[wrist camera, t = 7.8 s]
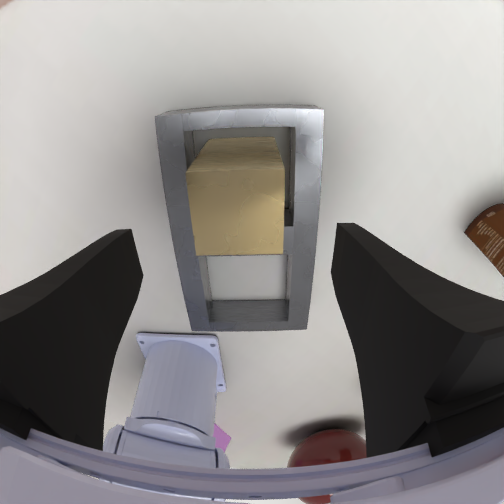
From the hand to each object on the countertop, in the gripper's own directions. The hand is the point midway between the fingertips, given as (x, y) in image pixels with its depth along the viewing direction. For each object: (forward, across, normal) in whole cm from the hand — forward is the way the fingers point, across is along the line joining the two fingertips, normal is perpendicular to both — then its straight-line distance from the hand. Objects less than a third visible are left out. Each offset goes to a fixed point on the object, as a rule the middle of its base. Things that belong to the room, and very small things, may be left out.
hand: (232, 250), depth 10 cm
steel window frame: (+10, 0, +4) cm, 11 cm away
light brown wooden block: (+10, 0, 0) cm, 10 cm away
